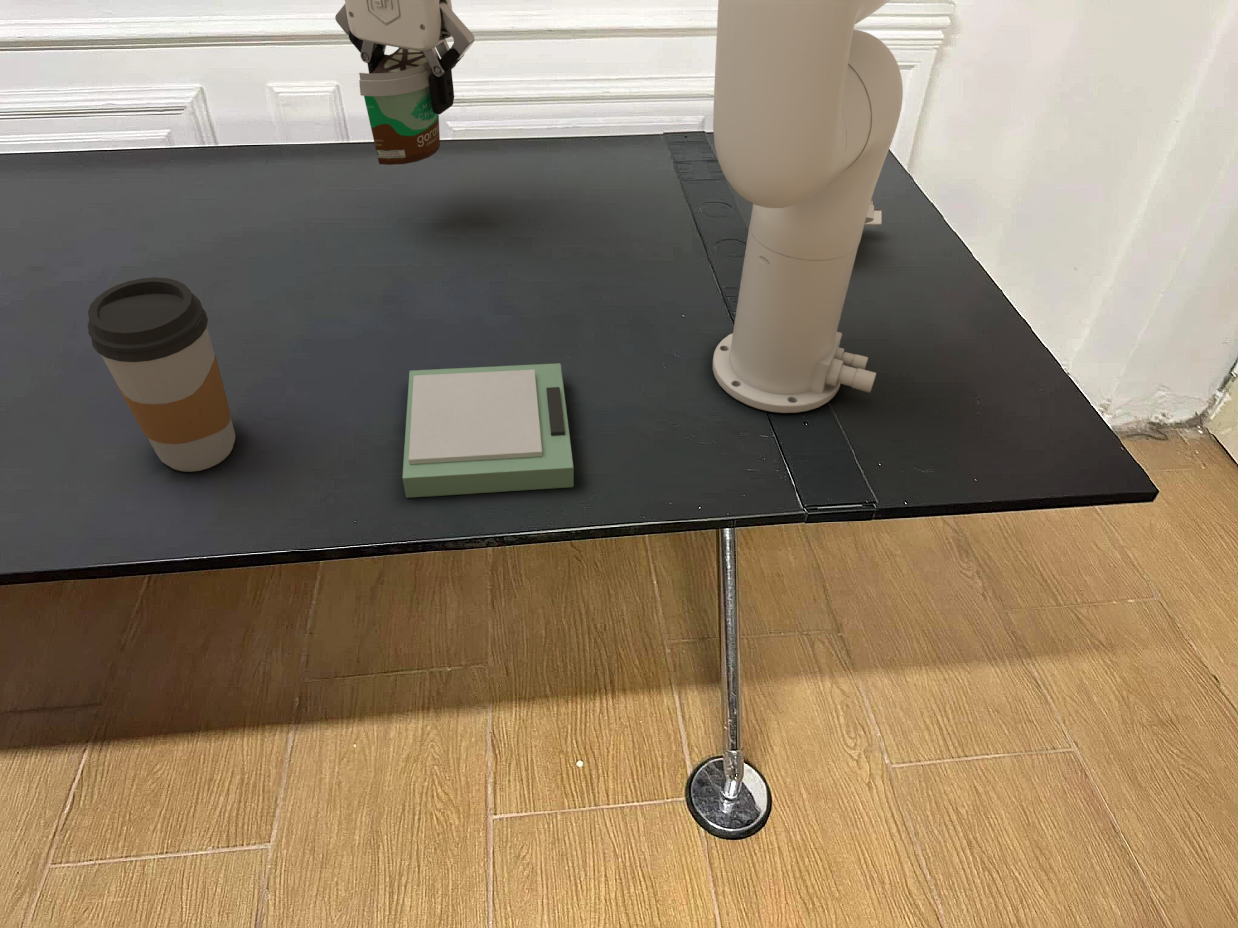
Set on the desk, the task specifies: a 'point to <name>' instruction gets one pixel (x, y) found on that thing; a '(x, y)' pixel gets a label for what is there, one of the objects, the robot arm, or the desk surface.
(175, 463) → the coffee cup
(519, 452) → the kitchen scale
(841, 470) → the desk surface
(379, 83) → the food container
